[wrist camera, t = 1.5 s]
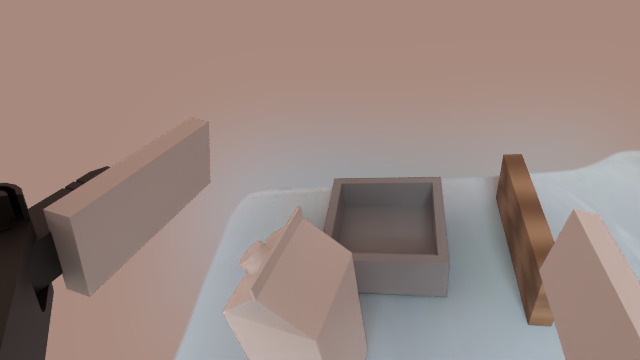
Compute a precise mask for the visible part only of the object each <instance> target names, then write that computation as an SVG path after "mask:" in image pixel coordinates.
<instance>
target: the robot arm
mask: <svg viewBox="0 0 640 360" xmlns="http://www.w3.org/2000/svg"><path fill="white" fill-rule="evenodd" d="M209 149H210V148H209V122H208V121H204V120H200V119H196V118H189V119H187V120H186V121H184V122H183V123H181V124H179V125H178V126H176V127H175V128H173V129H171V130H170V131H168V132H167V133H165V134H164V135H162V136H160V137H159V138H157V139H155V140H154V141H152V142H150V143H149V144H147V145H146V146H144V147H142V148H141V149H139V150H138V151H136V152H134V153H133V154H132V155H130V156H128V157H126V158H125V159H123V160H122V161H120V162H118V163H117V164H115V165H114V166H112V167H108V166H107V167H104V168H101V169H97V170H94V171H91V172H89V173H87V174H86V175H84V176H83V177H81V178H79V179H77V180H76V182H72V183H71V184H69V185H67V186H66V187H65V189H61V190H59V191H57V192H56V193H54V194H52V195H51V196H49V197H47V198H46V199H44V200H42V201H41V202H39V203H37V204H36V205H34V206H32V207H31V208H29V209H28V208H27V205H26V202H25V199H24V195H23V192H22V189H21V188H20V187H18V186H17V185H14V184H9V183H0V360H45V355H46V347H47V339H48V332H49V324H50V316H51V309H52V301H53V293H54V291H53V286H52V281H53V280H55V279H56V278H57V277H58V276H60V275H61V274H62V275H63V278H64V281H65V285H66V288H67V289H69V290H72V291H74V292H78V293H80V294H83V295H87V296H89V297H90V296H91V295H93V294H94V293H95V292H96V291H97V290H98V289H99V288H100V287H101V286H102V285H103V284H104V283H105V282H106V281H107V280H108V279H109V278H110V277H111V276H113V275H114V274H115V273H116V272H117V271H118V270H119V269H120V268H121V267H122V266H123V265H124V264H125V263H126V262H127V261H128V260H129V259H130V258H131V257H132V256H134V254H136V253H137V251H138V250H140V249H141V248H142V247H143V246H144V245H145V244H146V243H147V242H148V241H149V240H150V239H151V238H152V237H153V236H155V235H156V234H157V233H158V232H159V231H160V230H161V229H162V228H163V227H164V226H165V225H166V224H167V223H168V222H169V221H170V220H171V219H172V218H174V216H175V215H176V214H178V213H179V212H180V211H181V210H182V209H183V208H184V207H185V206H186V205H187V204H188V203H189V202H190V201H191V200H192V199H193V198H195V197H196V196H197V195H198V194H199V193H200V192H201V191H202V190H203V189H204V188H205V187H206V186H207V185H208V184H209V183H210V150H209ZM539 272H540V275H541V279H542V282H543V285H544V289H545V292H546V295H547V299H548V302H549V305H550V309H551V312H552V315H553V319H554V322H555V325H556V329H557V332H558V335H559V339H560V342H561V345H562V349H563V352H564V355H565V359H566V360H640V283H639V281H638V279H637V278H636V276H635V274H634V273H633V271H632V269H631V268H630V266H629V264H628V263H627V261H626V259H625V258H624V256H623V254H622V253H621V251H620V249H619V248H618V246H617V244H616V243H615V241H614V239H613V238H612V236H611V234H610V233H609V231H608V229H607V228H606V226H605V224H604V223H603V221H602V219H601V218H600V216H599V215H597V214H593V213H588V212H584V211H580V210H576V209H573V211H572V213H571V215H570V217H569V218H568V220H567V222H566V224H565V225H564V227H563V229H562V231H561V232H560V234H559V236H558V238H557V240H556V241H555V243H554V245H553V247H552V248H551V250H550V252H549V254H548V256H547V257H546V259H545V261H544V263H543V264H542V266H541V268H540V270H539Z"/></svg>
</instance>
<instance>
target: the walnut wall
mask: <svg viewBox="0 0 640 360" xmlns="http://www.w3.org/2000/svg"><path fill="white" fill-rule="evenodd" d="M496 199H497V203H498V207H499V211H500V215H501V219H502V223H503V227H504V231H505V235H506V239H507V243H508V247H509V251H510V254H511V258H512V262H513V266H514V270H515V274H516V278H517V282H518V286H519V290H520V294H521V298H522V302H523V306H524V310H525V314H526V318H527V322H528V325H539V326H552V323H553V321H554V319H553V315H552V312H551V309H550V305H549V302H548V299H547V295H546V292H545V289H544V285H543V282H542V279H541V275H540V272H539V270H540V268H541V266H542V264H543V263H544V261H545V259H546V257H547V256H548V254H549V252H550V250H551V248H552V247H553V245H554V240H553V237H552V235H551V232H550V229H549V226H548V224H547V221H546V218H545V216H544V213H543V210H542V208H541V205H540V202H539V199H538V197H537V194H536V191H535V189H534V186H533V183H532V181H531V178H530V175H529V172H528V170H527V167H526V164H525V162H524V159H523V156H522V154H516V155H515V154H513V155H503V161H502V167H501V173H500V178H499V184H498V190H497V196H496Z"/></svg>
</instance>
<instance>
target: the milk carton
mask: <svg viewBox="0 0 640 360" xmlns="http://www.w3.org/2000/svg"><path fill="white" fill-rule="evenodd" d="M240 266H241V267H242V268H243V269H245V270H246V271H247V273H246V274H245V276H244V278H243V279H242V281H241V282H240V284H239V286H238V287H237V289H236V290H235V292H234V294H233V295H232V297H231V298H230V300H229V301H228V303H227V305H226V306H225V308H224V310H223V314H224V316H225V318H226V320H227V321H228V323H229V325H230V327H231V329H232V330H233V332H234V334H235V336H236V337H237V339H238V341H239V343H240V344H241V346H242V348H243V350H244V352H245V353H246V355H247V357H248V359H249V360H366V358H367V354H368V350H367V344H366V338H365V332H364V325H363V319H362V313H361V307H360V301H359V295H358V288H357V282H356V276H355V270H354V264H353V258H352V253H351V252H350V251H349V250H347V249H346V248H345V247H343V246H342V245H341V244H339V243H338V242H336V241H335V240H334V239H332V238H331V237H330V236H328V235H327V234H325V233H324V232H323V231H321V230H320V229H319V228H317V227H316V226H314V225H313V224H312V223H310V222H309V221H308V220H306V219H305V218H303V216H302V212H301V208H300V207H297V208H296V210H295V211H294V213H293V215H292V216H291V218H290V220H289V221H288V223H287V225H286V226H285V227H283V228H281V229H280V230H278V231H276V232H275V233H273V234H272V235H270V236H269V238H268V239H267V241H266V242H265V244H263V243H262V242H261V241H258V242H256V243H255V244H253V245H252V246H251V247H250V248H249V249H248V250H247V252H246V253H245V254H244V256H243V257H242V259H241V261H240Z"/></svg>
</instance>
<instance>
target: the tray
mask: <svg viewBox="0 0 640 360" xmlns="http://www.w3.org/2000/svg"><path fill="white" fill-rule="evenodd" d="M324 233H325V234H327V235H328V236H330V237H331V238H332V239H334V240H335V241H336V242H338V243H339V244H341V245H342V246H343V247H345V248H346V249H347V250H349V251H350V252H351V253H352V258H353V264H354V270H355V276H356V282H357V288H358V292H361V293H381V294H401V295H421V296H441V297H447V290H448V277H449V265H450V263H449V253H448V243H447V234H446V224H445V215H444V205H443V195H442V186H441V177H413V178H412V177H411V178H410V177H408V178H348V179H347V178H342V179H334V184H333V189H332V194H331V199H330V203H329V208H328V213H327V218H326V223H325V227H324Z"/></svg>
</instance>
